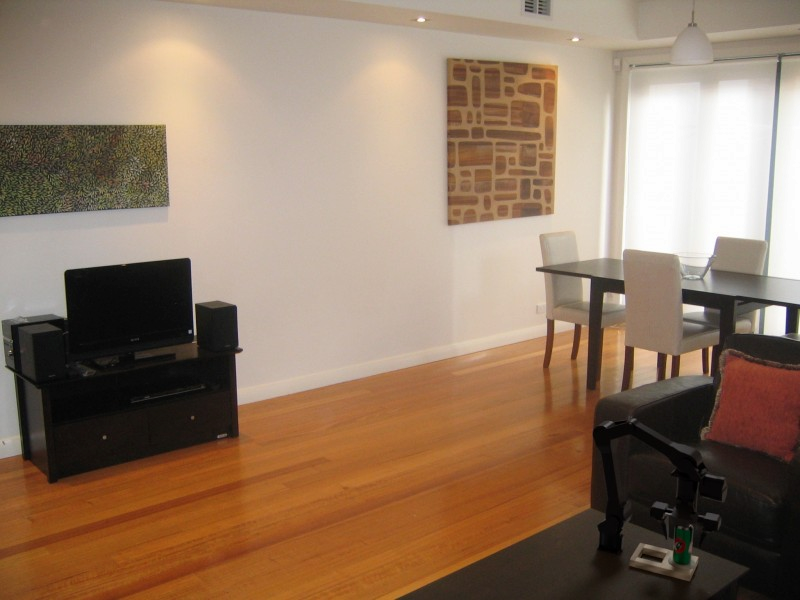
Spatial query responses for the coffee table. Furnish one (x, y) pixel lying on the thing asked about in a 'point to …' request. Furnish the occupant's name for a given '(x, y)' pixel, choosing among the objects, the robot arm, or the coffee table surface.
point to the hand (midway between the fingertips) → (683, 543)
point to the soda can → (682, 545)
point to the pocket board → (667, 564)
